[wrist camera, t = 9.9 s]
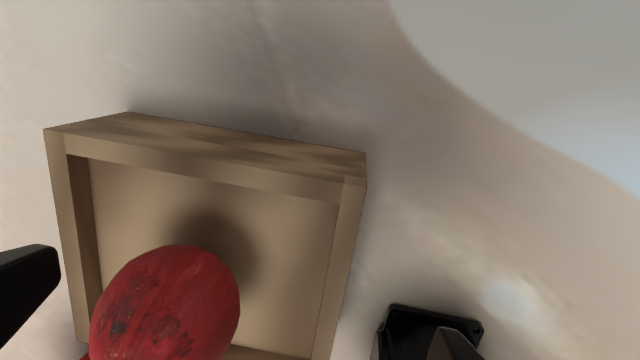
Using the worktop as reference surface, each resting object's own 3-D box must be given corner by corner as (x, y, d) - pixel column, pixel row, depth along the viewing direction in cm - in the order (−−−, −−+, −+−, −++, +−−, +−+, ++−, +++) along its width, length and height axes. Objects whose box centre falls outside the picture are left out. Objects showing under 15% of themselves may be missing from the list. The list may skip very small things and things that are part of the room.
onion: (150, 213, 17) (-14, 331, 10) (256, 219, 16) (168, 350, 9) (168, 302, 19) (43, 457, 12) (263, 311, 18) (196, 480, 11)
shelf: (365, 153, 19) (366, 187, 14) (330, 320, 24) (322, 395, 18) (126, 111, 20) (42, 128, 15) (138, 280, 25) (76, 340, 19)
